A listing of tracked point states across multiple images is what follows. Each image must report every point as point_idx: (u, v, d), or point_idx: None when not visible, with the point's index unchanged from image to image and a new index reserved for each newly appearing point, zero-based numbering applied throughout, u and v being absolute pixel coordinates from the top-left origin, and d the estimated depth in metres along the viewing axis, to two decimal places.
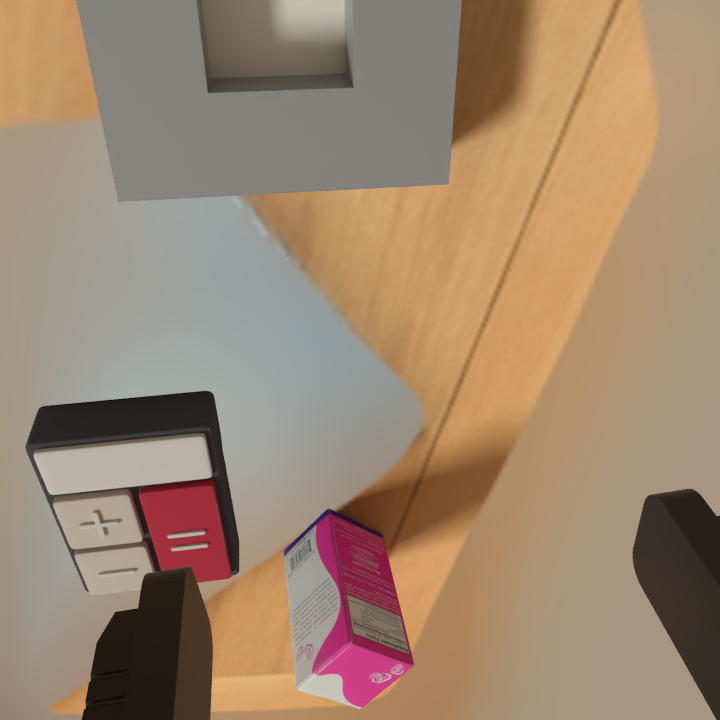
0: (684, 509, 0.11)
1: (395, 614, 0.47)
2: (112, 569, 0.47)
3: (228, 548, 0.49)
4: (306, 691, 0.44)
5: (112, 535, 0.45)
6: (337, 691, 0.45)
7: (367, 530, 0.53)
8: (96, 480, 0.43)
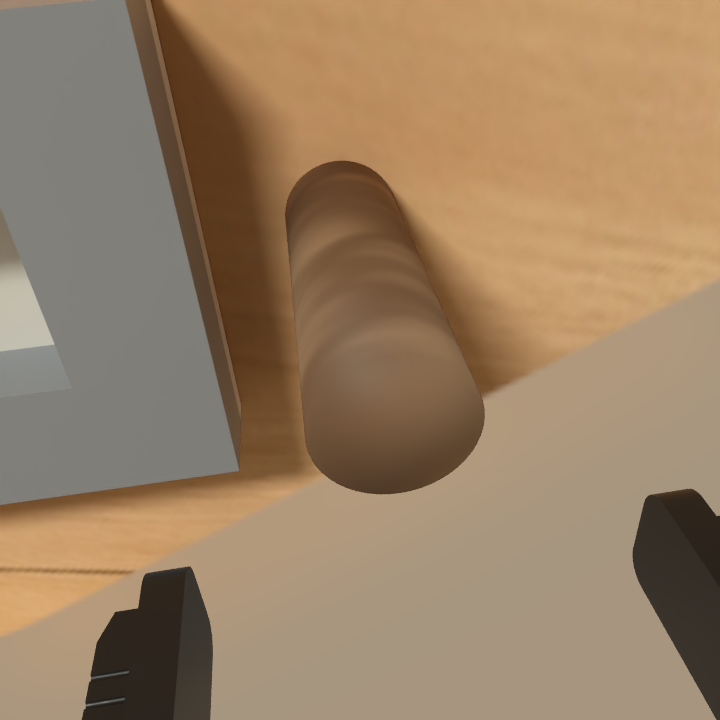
0: (684, 509, 0.11)
1: None
2: None
3: None
4: None
5: None
6: None
7: None
8: None
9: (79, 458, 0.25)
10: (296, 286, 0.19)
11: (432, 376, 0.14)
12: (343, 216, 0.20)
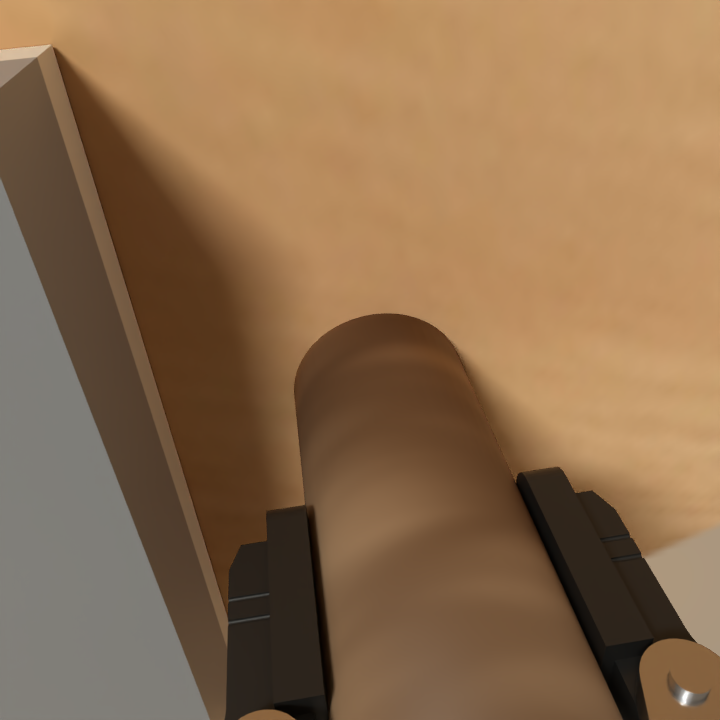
0: (545, 485, 0.12)
1: None
2: None
3: None
4: None
5: None
6: None
7: None
8: None
9: None
10: (324, 612, 0.10)
11: None
12: (404, 463, 0.11)
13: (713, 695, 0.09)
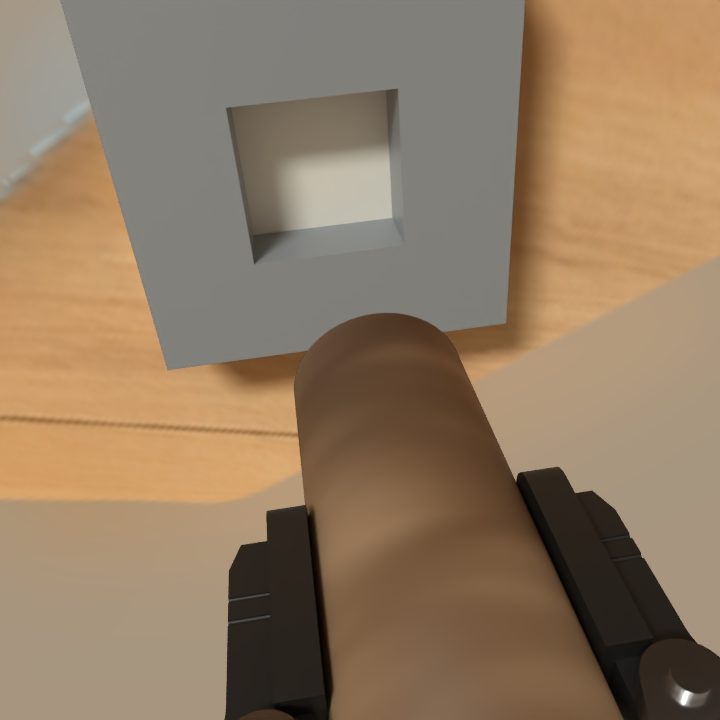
0: (545, 485, 0.12)
1: None
2: None
3: None
4: None
5: None
6: None
7: None
8: None
9: (391, 308, 0.31)
10: (324, 611, 0.10)
11: None
12: (403, 463, 0.11)
13: (713, 695, 0.09)
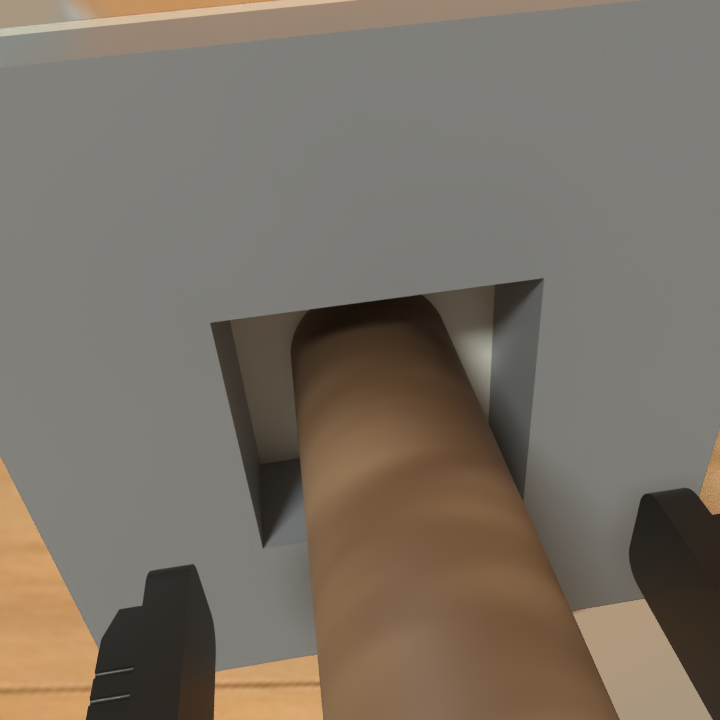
0: (679, 508, 0.11)
1: None
2: None
3: None
4: None
5: None
6: None
7: None
8: None
9: None
10: (314, 537, 0.12)
11: None
12: (388, 407, 0.12)
13: None
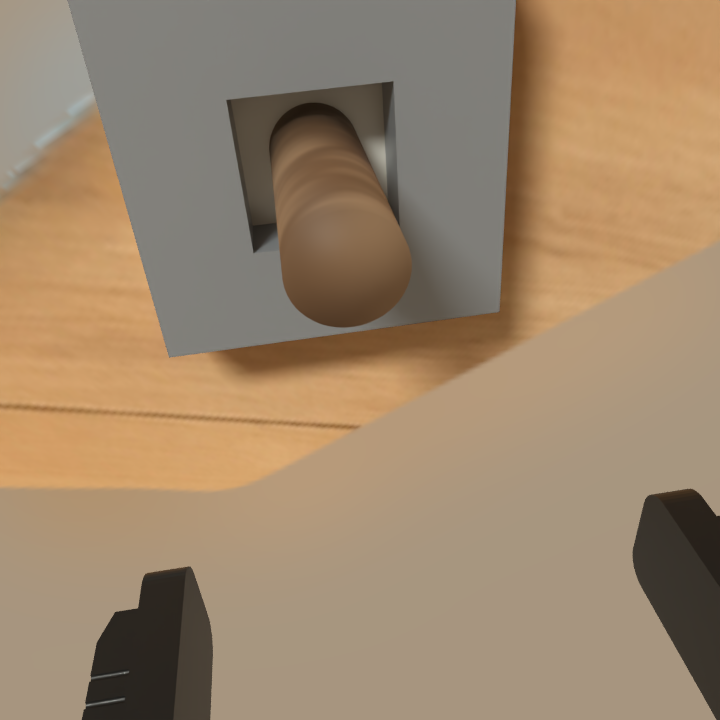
0: (684, 509, 0.11)
1: None
2: None
3: None
4: None
5: None
6: None
7: None
8: None
9: None
10: (277, 188, 0.25)
11: (372, 229, 0.20)
12: (313, 136, 0.26)
13: None
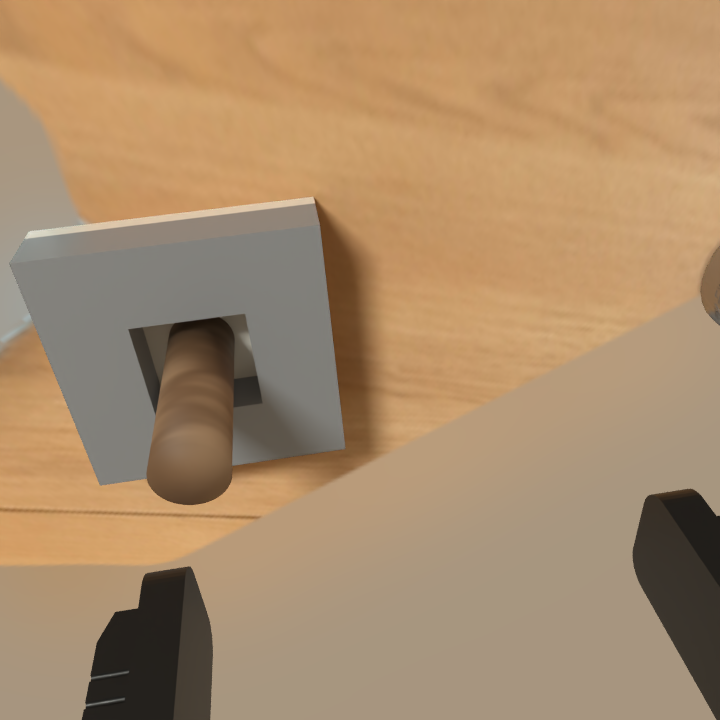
0: (684, 509, 0.11)
1: None
2: None
3: None
4: None
5: None
6: None
7: None
8: None
9: (259, 442, 0.44)
10: (159, 396, 0.37)
11: (202, 452, 0.32)
12: (186, 357, 0.38)
13: None
